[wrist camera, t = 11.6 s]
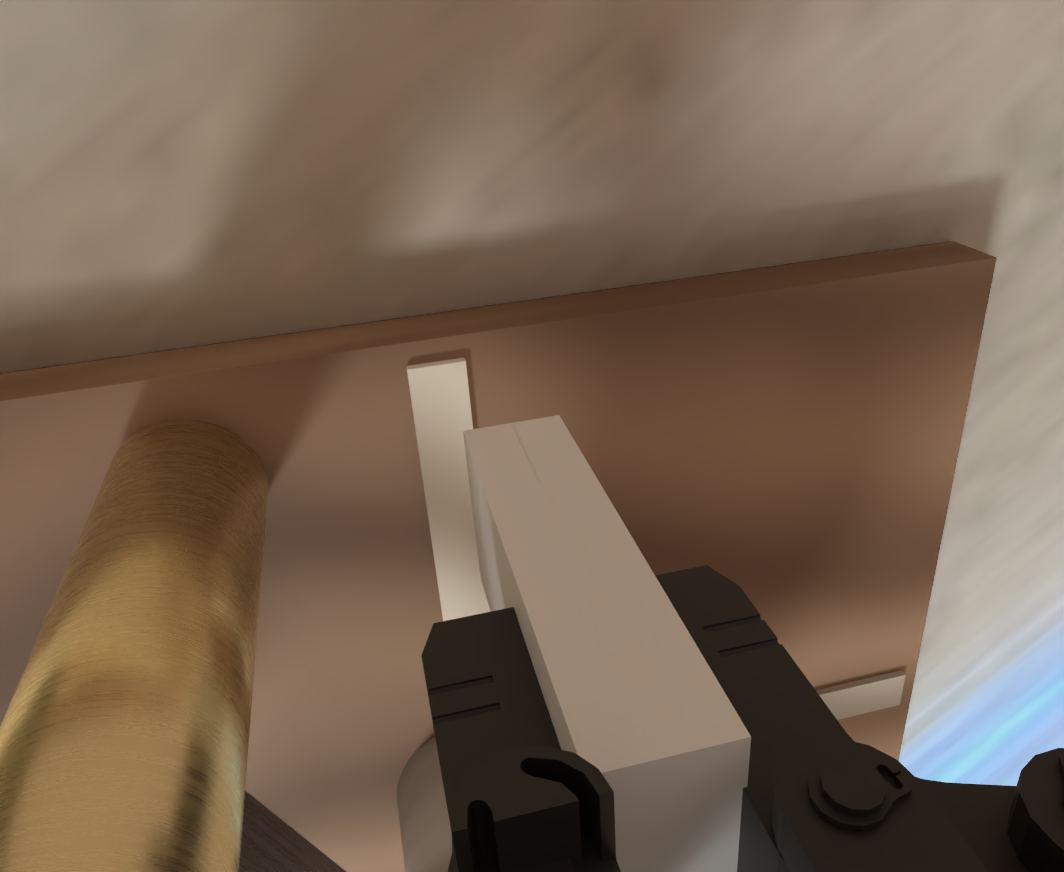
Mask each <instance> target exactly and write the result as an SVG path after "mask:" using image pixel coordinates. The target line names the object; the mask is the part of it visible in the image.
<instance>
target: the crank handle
mask: <svg viewBox="0 0 1064 872" xmlns="http://www.w3.org/2000/svg"><path fill="white" fill-rule="evenodd" d="M267 500H268V478H267V474H266V470H265V468H264V465H263V463H262V461H261V459H260V458H259V456H258V454H257V453H256V452H255V451H254V449H253V448H252V447H251V446H250V445H249V444H248V443H247V442H246V441H245V440H243V439H242V438H241V437H239V436H238V435H237V434H235V433H233V432H231V431H230V430H228V429H226V428H223V427H221V426H219V425H215V424H212V423H209V422H204V421H199V420H188V419H185V420H171V421H165V422H161V423H157V424H154V425H151V426H149V427H146V428H144V429H142V430H140V431H139V432H137V433H135V434H134V435H133V436H131V437H130V438H129V439H127V440H126V441H125V442H124V443H123V444H122V445H121V447H120V448H119V449H118V451H117V452H116V453H115V455H114V457H113V459H112V461H111V463H110V465H109V468H108V470H107V473H106V475H105V477H104V480H103V482H102V485H101V487H100V489H99V492H98V494H97V496H96V499H95V501H94V504H93V506H92V508H91V511H90V513H89V516H88V518H87V520H86V523H85V525H84V528H83V530H82V532H81V535H80V537H79V540H78V542H77V544H76V547H75V549H74V551H73V554H72V556H71V559H70V561H69V563H68V566H67V568H66V571H65V573H64V575H63V578H62V580H61V583H60V585H59V587H58V590H57V592H56V595H55V597H54V599H53V602H52V604H51V606H50V609H49V611H48V614H47V616H46V618H45V621H44V623H43V626H42V628H41V630H40V633H39V635H38V638H37V640H36V642H35V645H34V647H33V649H32V652H31V654H30V657H29V659H28V661H27V664H26V666H25V669H24V671H23V673H22V676H21V678H20V681H19V683H18V685H17V688H16V690H15V693H14V695H13V697H12V700H11V702H10V704H9V707H8V709H7V712H6V714H5V716H4V719H3V721H2V724H1V726H0V872H346V871H345V870H344V869H343V868H341V867H340V866H339V865H338V864H336V863H335V862H334V861H333V860H331V859H330V858H329V857H328V856H326V855H325V854H324V853H323V852H321V851H320V850H319V849H318V848H316V847H315V846H314V845H313V844H311V843H310V842H309V841H308V840H306V839H305V838H304V837H303V836H301V835H300V834H299V833H298V832H297V831H295V830H294V829H293V828H292V827H290V826H289V825H288V824H287V823H285V822H284V821H283V820H282V819H280V818H279V817H278V816H277V815H275V814H274V813H273V812H272V811H270V810H269V809H268V808H267V807H265V806H264V805H263V804H262V803H260V802H259V801H258V800H257V799H255V798H254V797H253V796H252V795H250V794H249V793H248V792H247V791H245V786H246V773H247V760H248V747H249V734H250V721H251V708H252V695H253V682H254V669H255V656H256V643H257V630H258V617H259V604H260V591H261V578H262V565H263V552H264V539H265V526H266V513H267Z"/></svg>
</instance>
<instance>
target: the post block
mask: <svg viewBox="0 0 1064 872" xmlns="http://www.w3.org/2000/svg"><path fill="white" fill-rule="evenodd" d="M995 262H996V257H993V256H990V255H988V254H985V253H983V252H980V251H977V250H975V249H972V248H969V247H967V246H964V245H962V244H959V243H956V242H954V241H953V242H946V243H939V244H931V245H924V246H917V247H910V248H903V249H895V250H888V251H881V252H874V253H867V254H859V255H852V256H845V257H838V258H831V259H823V260H816V261H809V262H802V263H795V264H787V265H780V266H773V267H766V268H759V269H751V270H744V271H737V272H730V273H723V274H715V275H708V276H701V277H694V278H687V279H679V280H672V281H665V282H658V283H651V284H643V285H636V286H629V287H622V288H615V289H607V290H600V291H593V292H586V293H579V294H571V295H564V296H557V297H550V298H543V299H535V300H528V301H521V302H514V303H507V304H499V305H492V306H485V307H478V308H471V309H463V310H456V311H449V312H442V313H435V314H427V315H420V316H413V317H406V318H399V319H391V320H384V321H377V322H370V323H363V324H355V325H348V326H341V327H334V328H327V329H319V330H312V331H305V332H298V333H291V334H283V335H276V336H269V337H262V338H255V339H247V340H240V341H233V342H226V343H219V344H211V345H204V346H197V347H190V348H183V349H175V350H168V351H161V352H154V353H147V354H139V355H132V356H125V357H118V358H111V359H103V360H96V361H89V362H82V363H75V364H67V365H60V366H53V367H46V368H39V369H32V370H24V371H17V372H10V373H3V374H0V726H1V724H2V721H3V719H4V716H5V714H6V712H7V709H8V707H9V704H10V702H11V700H12V697H13V695H14V693H15V690H16V688H17V685H18V683H19V681H20V678H21V676H22V673H23V671H24V669H25V666H26V664H27V661H28V659H29V657H30V654H31V652H32V649H33V647H34V645H35V642H36V640H37V638H38V635H39V633H40V630H41V628H42V626H43V623H44V621H45V618H46V616H47V614H48V611H49V609H50V606H51V604H52V602H53V599H54V597H55V595H56V592H57V590H58V587H59V585H60V583H61V580H62V578H63V575H64V573H65V571H66V568H67V566H68V563H69V561H70V559H71V556H72V554H73V551H74V549H75V547H76V544H77V542H78V540H79V537H80V535H81V532H82V530H83V528H84V525H85V523H86V520H87V518H88V516H89V513H90V511H91V508H92V506H93V504H94V501H95V499H96V496H97V494H98V492H99V489H100V487H101V485H102V482H103V480H104V477H105V475H106V473H107V470H108V468H109V465H110V463H111V461H112V459H113V457H114V455H115V453H116V452H117V451H118V449H119V448H120V447H121V445H122V444H123V443H124V442H125V441H126V440H127V439H129V438H130V437H131V436H133V435H134V434H135V433H137V432H139V431H140V430H142V429H144V428H146V427H149V426H151V425H154V424H157V423H161V422H165V421H171V420H185V419H188V420H199V421H204V422H209V423H212V424H215V425H219V426H221V427H223V428H226V429H228V430H230V431H231V432H233V433H235V434H237V435H238V436H239V437H241V438H242V439H243V440H245V441H246V442H247V443H248V444H249V445H250V446H251V447H252V448H253V449H254V451H255V452H256V453H257V454H258V456H259V458H260V459H261V461H262V463H263V465H264V468H265V470H266V474H267V478H268V500H267V513H266V526H265V539H264V552H263V565H262V578H261V591H260V604H259V617H258V630H257V643H256V656H255V669H254V682H253V695H252V708H251V721H250V734H249V747H248V760H247V773H246V786H245V791H247V792H248V793H249V794H250V795H252V796H253V797H254V798H255V799H257V800H258V801H259V802H260V803H262V804H263V805H264V806H265V807H267V808H268V809H269V810H270V811H272V812H273V813H274V814H275V815H277V816H278V817H279V818H280V819H282V820H283V821H284V822H285V823H287V824H288V825H289V826H290V827H292V828H293V829H294V830H295V831H297V832H298V833H299V834H300V835H301V836H303V837H304V838H305V839H306V840H308V841H309V842H310V843H311V844H313V845H314V846H315V847H316V848H318V849H319V850H320V851H321V852H323V853H324V854H325V855H326V856H328V857H329V858H330V859H331V860H333V861H334V862H335V863H336V864H338V865H339V866H340V867H341V868H343V869H344V870H345V871H346V872H448V868H449V864H450V860H451V855H452V833H451V827H450V821H449V816H448V810H447V804H446V798H445V792H444V786H443V781H442V775H441V769H440V763H439V757H438V751H437V745H436V740H435V734H434V728H433V722H432V716H431V710H430V704H429V698H428V692H427V686H426V680H425V674H424V669H423V663H422V657H421V655H422V652H423V650H424V647H425V644H426V642H427V639H428V636H429V634H430V631H431V628H432V626H433V623H437V622H442V621H447V620H452V619H457V618H462V617H467V616H472V615H477V614H481V613H486V612H491V611H490V608H489V604H488V601H487V597H486V594H485V591H484V587H483V584H482V581H481V577H480V570H479V561H478V553H477V545H476V536H475V528H474V519H473V511H472V503H471V494H470V486H469V478H468V469H467V461H466V452H465V444H464V436H463V431H466V430H472V429H478V428H484V427H490V426H496V425H502V424H508V423H514V422H520V421H526V420H532V419H538V418H544V417H550V416H556V415H560V417H561V419H562V420H563V422H564V424H565V425H566V427H567V429H568V430H569V432H570V434H571V436H572V437H573V439H574V441H575V442H576V444H577V446H578V447H579V449H580V451H581V452H582V454H583V456H584V457H585V459H586V461H587V462H588V464H589V466H590V467H591V469H592V471H593V472H594V474H595V476H596V477H597V479H598V481H599V482H600V484H601V486H602V487H603V489H604V491H605V493H606V494H607V496H608V498H609V499H610V501H611V503H612V504H613V506H614V508H615V509H616V511H617V513H618V514H619V516H620V518H621V519H622V521H623V523H624V524H625V526H626V528H627V529H628V531H629V533H630V534H631V536H632V538H633V539H634V541H635V543H636V545H637V546H638V548H639V550H640V551H641V553H642V555H643V556H644V558H645V560H646V561H647V563H648V565H649V566H650V568H651V570H652V571H653V573H654V575H660V574H665V573H670V572H675V571H680V570H685V569H690V568H694V567H699V566H704V565H708V566H709V567H711V568H712V569H714V570H715V571H717V572H719V573H720V574H722V575H723V576H725V577H726V578H728V579H729V580H731V581H732V582H734V583H736V584H737V585H739V586H740V587H741V589H742V590H743V591H744V593H745V594H746V595H747V597H748V598H749V600H750V601H751V602H752V604H753V605H754V606H755V608H756V609H757V611H758V612H759V613H760V617H761V620H765V622H766V623H767V624H768V626H769V627H770V628H771V630H772V631H773V633H774V634H775V635H776V637H777V640H778V643H779V644H782V645H783V646H784V648H785V649H786V650H787V652H788V653H789V655H790V656H791V657H792V659H793V660H794V661H795V663H796V664H797V665H798V667H799V668H800V670H801V671H802V672H803V674H804V675H805V676H806V678H807V679H808V681H809V682H810V683H811V685H812V686H813V687H814V689H815V690H816V692H817V693H818V694H819V696H820V697H821V698H822V700H823V701H824V703H825V704H826V705H827V707H828V708H829V709H830V711H831V712H832V714H833V715H834V716H835V718H836V719H837V720H838V722H839V723H840V725H841V726H842V727H843V729H844V730H845V731H846V733H847V734H848V735H849V736H850V737H851V738H852V739H853V740H854V741H855V742H857V743H862V744H866V745H870V746H872V747H874V748H876V749H878V750H879V751H881V752H883V753H885V754H887V755H889V756H891V757H893V758H895V759H896V760H897V761H898V759H899V754H900V749H901V744H902V739H903V734H904V729H905V723H906V718H907V713H908V708H909V703H910V698H911V693H912V688H913V682H914V677H915V672H916V667H917V662H918V657H919V652H920V647H921V641H922V636H923V631H924V626H925V621H926V616H927V611H928V606H929V600H930V595H931V590H932V585H933V580H934V575H935V570H936V565H937V559H938V554H939V549H940V544H941V539H942V534H943V529H944V524H945V518H946V513H947V508H948V503H949V498H950V493H951V488H952V483H953V477H954V472H955V467H956V462H957V457H958V452H959V447H960V442H961V436H962V431H963V426H964V421H965V416H966V411H967V406H968V401H969V395H970V390H971V385H972V380H973V375H974V370H975V365H976V360H977V354H978V349H979V344H980V339H981V334H982V329H983V324H984V319H985V313H986V308H987V303H988V298H989V293H990V288H991V283H992V278H993V272H994V267H995Z"/></svg>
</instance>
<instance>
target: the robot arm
mask: <svg viewBox="0 0 1064 872" xmlns="http://www.w3.org/2000/svg"><path fill="white" fill-rule="evenodd" d="M463 436H464V444H465V452H466V461H467V469H468V478H469V486H470V494H471V503H472V511H473V519H474V528H475V536H476V545H477V553H478V561H479V570H480V577H481V581H482V584H483V587H484V591H485V594H486V597H487V601H488V604H489V608H490V611H491V612H486V613H481V614H477V615H472V616H467V617H462V618H457V619H452V620H447V621H442V622H437V623H433V626H432V628H431V631H430V634H429V636H428V639H427V642H426V644H425V647H424V650H423V652H422V655H421V657H422V663H423V669H424V674H425V680H426V686H427V692H428V698H429V704H430V710H431V716H432V722H433V728H434V734H435V740H436V745H437V751H438V757H439V763H440V769H441V775H442V781H443V786H444V792H445V798H446V804H447V810H448V816H449V821H450V827H451V833H452V855H451V860H450V864H449V868H448V872H1064V748H1057V749H1054V750H1051V751H1048V752H1044V753H1041V754H1038V755H1035V756H1034V757H1033V758H1032V759H1031V760H1030V762H1029V763H1028V764H1027V765H1026V766H1025V767H1024V768H1023V769H1022V770H1021V773H1020V777H1019V780H1018V784H1017V786H1000V785H980V784H961V783H945V782H938V781H931V780H924V779H920V778H917V777H914V776H913V775H912V774H911V773H910V772H909V771H908V770H907V769H906V768H905V767H904V766H903V765H902V764H901V763H900V762H899V761H897V760H896V759H895V758H893V757H891V756H889V755H887V754H885V753H883V752H881V751H879V750H878V749H876V748H874V747H872V746H870V745H866V744H862V743H857V742H855V741H854V740H853V739H852V738H851V737H850V736H849V735H848V734H847V733H846V731H845V730H844V729H843V727H842V726H841V725H840V723H839V722H838V720H837V719H836V718H835V716H834V715H833V714H832V712H831V711H830V709H829V708H828V707H827V705H826V704H825V703H824V701H823V700H822V698H821V697H820V696H819V694H818V693H817V692H816V690H815V689H814V687H813V686H812V685H811V683H810V682H809V681H808V679H807V678H806V676H805V675H804V674H803V672H802V671H801V670H800V668H799V667H798V665H797V664H796V663H795V661H794V660H793V659H792V657H791V656H790V655H789V653H788V652H787V650H786V649H785V648H784V646H783V645H782V644H779V643H778V640H777V637H776V635H775V634H774V633H773V631H772V630H771V628H770V627H769V626H768V624H767V623H766V622H765V620H761V617H760V613H759V612H758V611H757V609H756V608H755V606H754V605H753V604H752V602H751V601H750V600H749V598H748V597H747V595H746V594H745V593H744V591H743V590H742V589H741V587H740V586H739V585H737V584H736V583H734V582H732V581H731V580H729V579H728V578H726V577H725V576H723V575H722V574H720V573H719V572H717V571H715V570H714V569H712V568H711V567H709V566H708V565H704V566H699V567H694V568H690V569H685V570H680V571H675V572H670V573H665V574H660V575H654V573H653V571H652V570H651V568H650V566H649V565H648V563H647V561H646V560H645V558H644V556H643V555H642V553H641V551H640V550H639V548H638V546H637V545H636V543H635V541H634V539H633V538H632V536H631V534H630V533H629V531H628V529H627V528H626V526H625V524H624V523H623V521H622V519H621V518H620V516H619V514H618V513H617V511H616V509H615V508H614V506H613V504H612V503H611V501H610V499H609V498H608V496H607V494H606V493H605V491H604V489H603V487H602V486H601V484H600V482H599V481H598V479H597V477H596V476H595V474H594V472H593V471H592V469H591V467H590V466H589V464H588V462H587V461H586V459H585V457H584V456H583V454H582V452H581V451H580V449H579V447H578V446H577V444H576V442H575V441H574V439H573V437H572V436H571V434H570V432H569V430H568V429H567V427H566V425H565V424H564V422H563V420H562V419H561V417H560V415H556V416H550V417H544V418H538V419H532V420H526V421H520V422H514V423H508V424H502V425H496V426H490V427H484V428H478V429H472V430H466V431H463Z"/></svg>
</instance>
